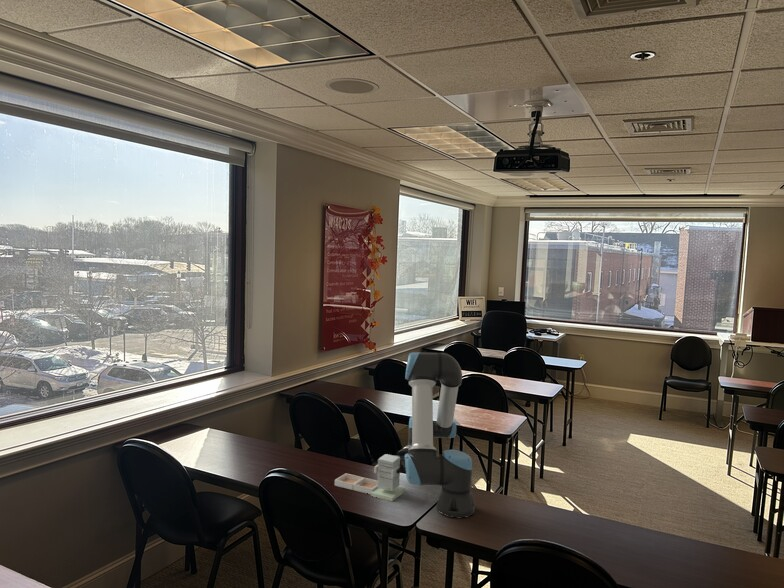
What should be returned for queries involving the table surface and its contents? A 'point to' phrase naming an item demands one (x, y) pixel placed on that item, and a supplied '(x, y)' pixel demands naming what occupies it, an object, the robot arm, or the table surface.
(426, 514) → the table surface
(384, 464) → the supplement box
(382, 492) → the track
